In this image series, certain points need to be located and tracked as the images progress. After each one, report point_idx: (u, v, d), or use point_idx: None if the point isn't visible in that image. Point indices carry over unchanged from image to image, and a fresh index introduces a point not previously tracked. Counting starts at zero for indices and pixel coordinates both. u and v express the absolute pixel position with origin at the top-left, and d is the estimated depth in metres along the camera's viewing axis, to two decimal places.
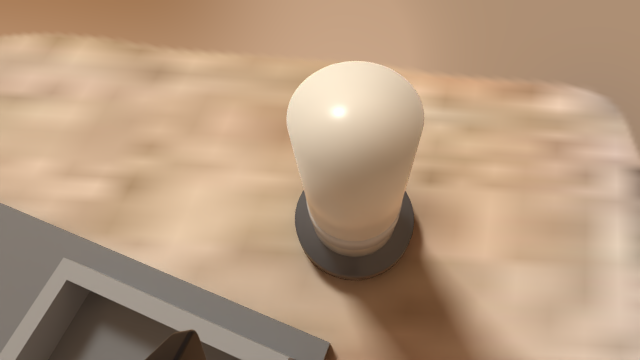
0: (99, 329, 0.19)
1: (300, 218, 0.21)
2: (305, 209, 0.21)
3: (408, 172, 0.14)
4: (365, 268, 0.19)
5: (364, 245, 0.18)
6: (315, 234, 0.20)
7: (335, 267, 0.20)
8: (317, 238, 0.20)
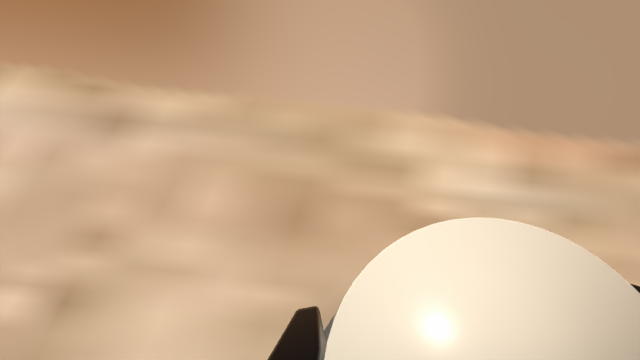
0: None
1: None
2: None
3: None
4: None
5: None
6: None
7: None
8: None
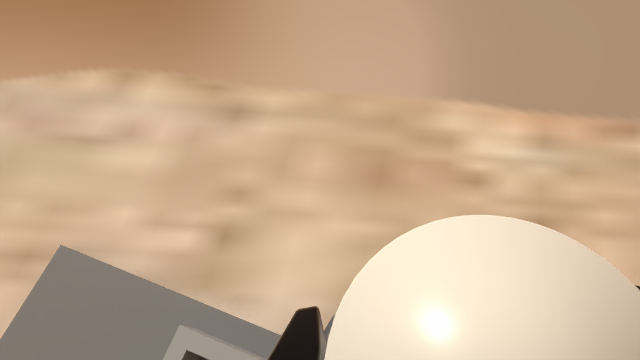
0: None
1: None
2: None
3: None
4: None
5: None
6: None
7: None
8: None
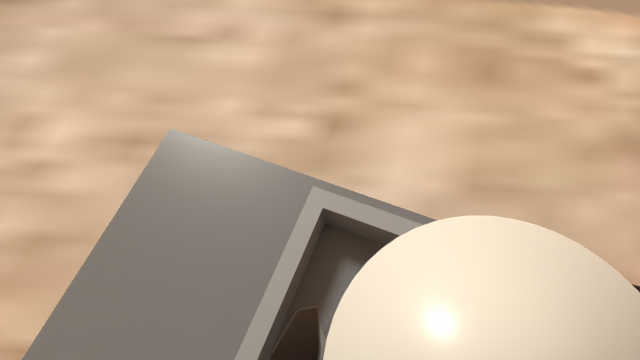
0: (344, 263, 0.19)
1: None
2: None
3: None
4: None
5: None
6: None
7: None
8: None
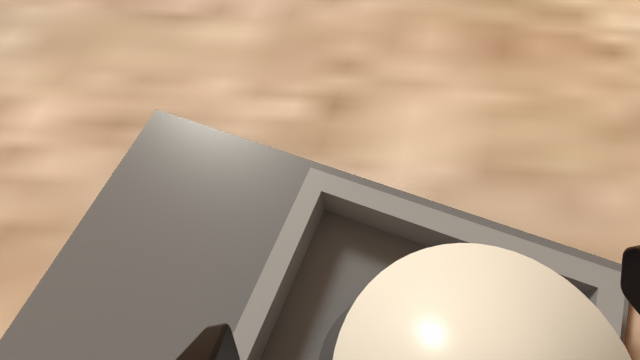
0: (345, 254, 0.17)
1: None
2: None
3: None
4: None
5: None
6: None
7: None
8: None
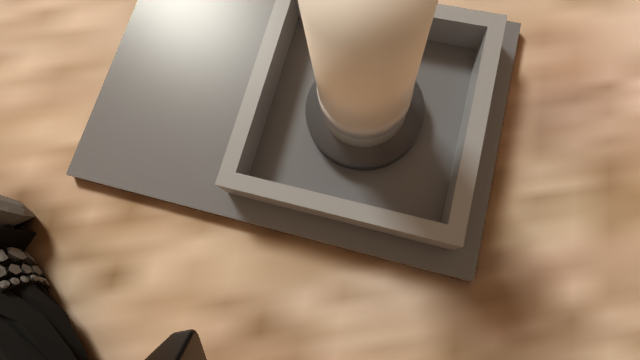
0: None
1: (310, 116, 0.21)
2: (314, 107, 0.21)
3: (425, 42, 0.13)
4: (381, 156, 0.20)
5: (380, 132, 0.18)
6: (328, 130, 0.20)
7: (352, 159, 0.20)
8: (330, 134, 0.20)
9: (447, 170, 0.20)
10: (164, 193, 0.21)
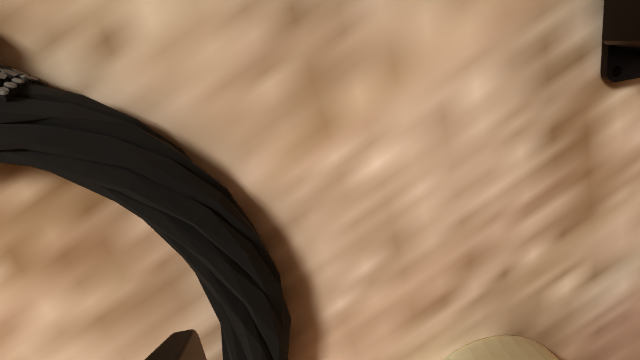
0: None
1: None
2: None
3: None
4: None
5: None
6: None
7: None
8: None
9: None
10: None
